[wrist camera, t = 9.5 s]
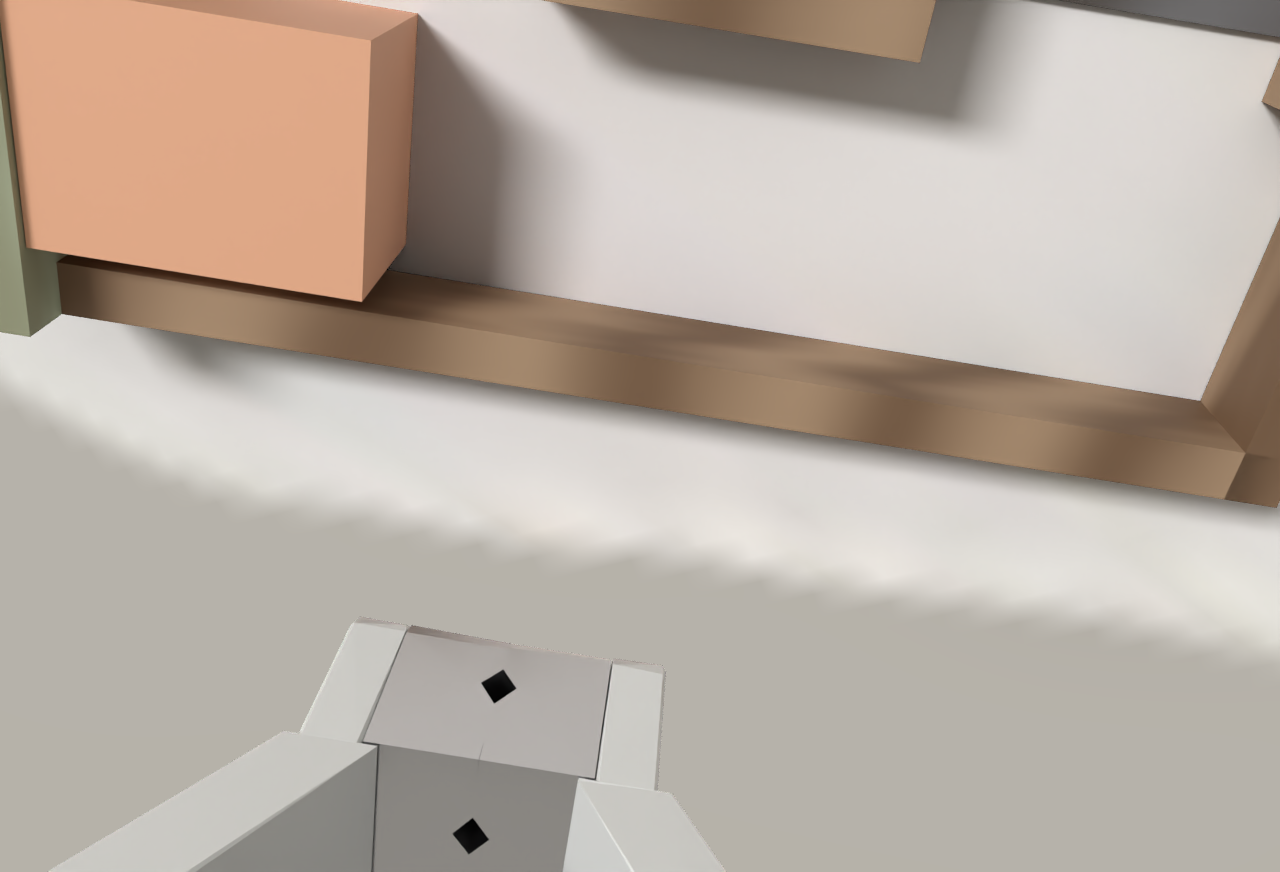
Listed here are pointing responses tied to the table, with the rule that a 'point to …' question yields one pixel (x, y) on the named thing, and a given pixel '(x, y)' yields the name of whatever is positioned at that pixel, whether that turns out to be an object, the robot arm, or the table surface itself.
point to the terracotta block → (216, 135)
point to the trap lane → (723, 354)
